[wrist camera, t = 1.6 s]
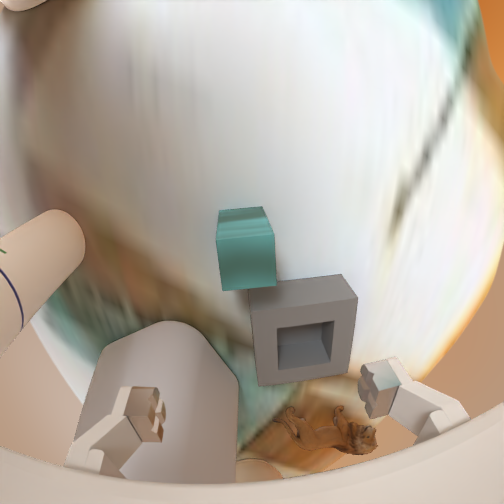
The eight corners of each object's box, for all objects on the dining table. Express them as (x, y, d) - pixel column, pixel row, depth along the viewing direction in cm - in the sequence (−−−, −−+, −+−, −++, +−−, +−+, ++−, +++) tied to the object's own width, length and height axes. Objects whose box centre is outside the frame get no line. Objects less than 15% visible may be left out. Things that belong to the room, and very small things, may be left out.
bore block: (247, 284, 31) (251, 311, 27) (341, 274, 32) (358, 297, 27) (254, 356, 35) (258, 386, 30) (335, 345, 35) (347, 372, 31)
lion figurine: (367, 396, 40) (386, 440, 32) (358, 416, 42) (374, 458, 34) (273, 406, 39) (282, 458, 31) (270, 426, 41) (277, 474, 33)
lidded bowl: (270, 445, 44) (278, 499, 33) (290, 470, 48) (299, 515, 38) (204, 459, 45) (203, 510, 34) (233, 482, 49) (235, 525, 39)
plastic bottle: (249, 387, 37) (272, 594, 11) (159, 416, 39) (139, 587, 13) (185, 303, 32) (145, 591, 6) (90, 347, 33) (14, 543, 7)
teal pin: (219, 210, 28) (215, 240, 21) (262, 206, 28) (274, 234, 21) (223, 250, 30) (222, 291, 22) (264, 246, 30) (276, 285, 22)
